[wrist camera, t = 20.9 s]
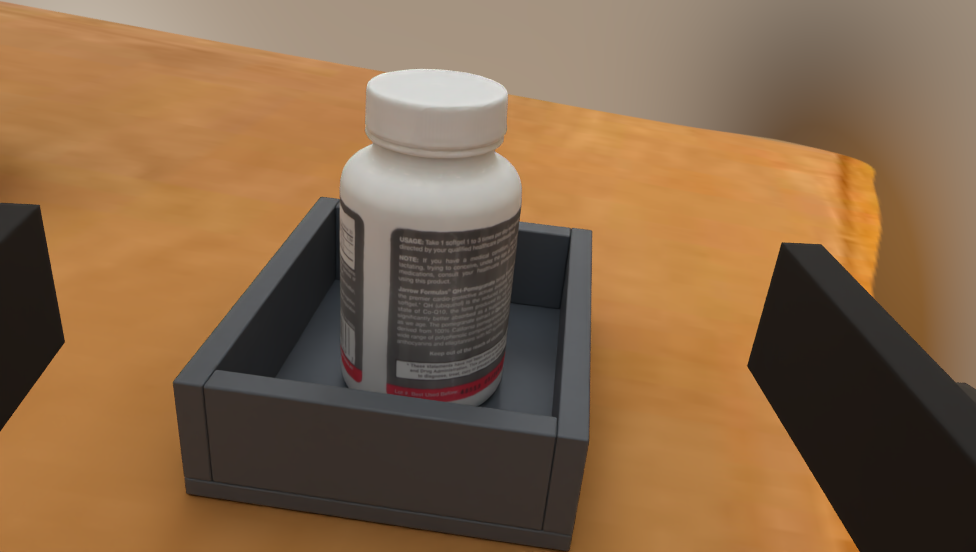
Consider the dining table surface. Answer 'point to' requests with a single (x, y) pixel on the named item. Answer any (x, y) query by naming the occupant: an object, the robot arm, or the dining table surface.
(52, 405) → the dining table surface
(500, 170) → the pill bottle
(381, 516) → the grey bin
